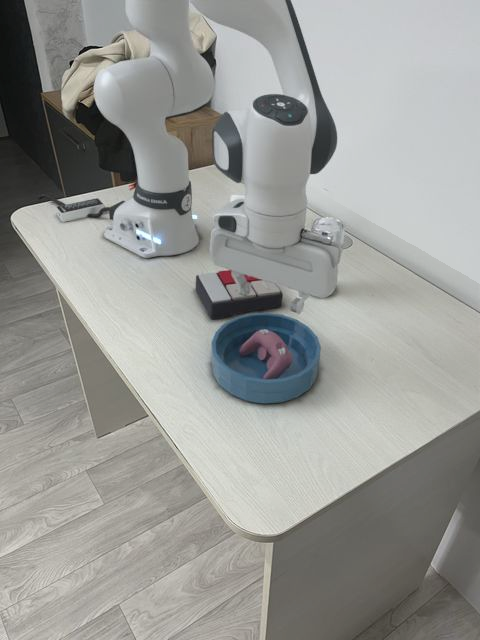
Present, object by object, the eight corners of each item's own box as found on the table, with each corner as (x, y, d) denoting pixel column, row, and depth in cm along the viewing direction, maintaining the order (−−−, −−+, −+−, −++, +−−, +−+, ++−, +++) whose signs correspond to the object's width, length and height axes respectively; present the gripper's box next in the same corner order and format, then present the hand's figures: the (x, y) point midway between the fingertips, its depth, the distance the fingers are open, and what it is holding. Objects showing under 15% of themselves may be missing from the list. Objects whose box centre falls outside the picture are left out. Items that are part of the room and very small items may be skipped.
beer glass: (334, 300, 111) (344, 235, 102) (301, 295, 112) (308, 230, 103) (337, 282, 117) (347, 218, 107) (305, 278, 117) (313, 214, 108)
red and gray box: (284, 291, 107) (211, 301, 101) (281, 309, 109) (210, 319, 104) (264, 263, 114) (195, 271, 109) (262, 281, 117) (195, 289, 112)
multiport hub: (105, 212, 137) (104, 204, 136) (62, 222, 132) (60, 213, 131) (99, 206, 140) (98, 197, 139) (57, 215, 135) (55, 206, 134)
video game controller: (282, 387, 93) (301, 354, 90) (263, 386, 90) (281, 352, 87) (254, 354, 99) (271, 322, 96) (235, 352, 96) (251, 319, 93)
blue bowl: (191, 379, 91) (190, 356, 88) (245, 323, 104) (245, 301, 101) (289, 419, 85) (291, 397, 82) (333, 354, 98) (336, 333, 95)
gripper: (350, 231, 76) (338, 311, 84) (225, 198, 83) (225, 275, 91) (333, 249, 71) (322, 332, 80) (202, 213, 78) (205, 293, 87)
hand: (270, 302), depth 86 cm, fingers open, 8 cm apart
